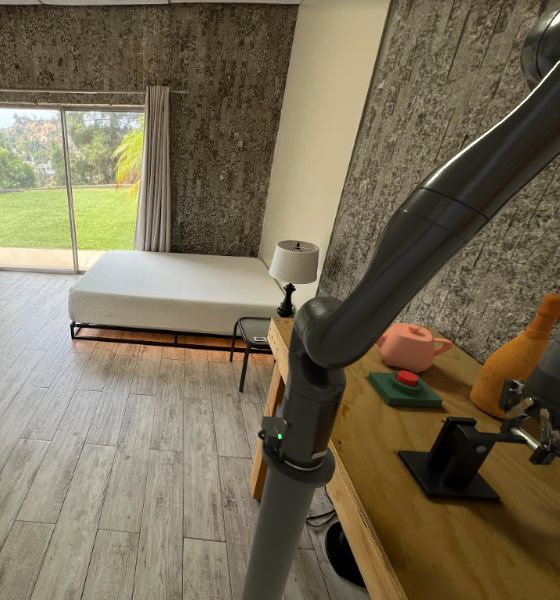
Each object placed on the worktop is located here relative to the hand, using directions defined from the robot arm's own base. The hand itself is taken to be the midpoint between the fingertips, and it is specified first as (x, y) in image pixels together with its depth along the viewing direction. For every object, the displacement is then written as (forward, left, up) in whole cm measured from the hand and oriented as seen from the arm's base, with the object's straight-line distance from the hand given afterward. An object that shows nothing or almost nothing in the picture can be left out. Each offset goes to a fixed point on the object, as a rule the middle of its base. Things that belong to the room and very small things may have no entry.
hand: (521, 448), depth 56 cm
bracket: (-10, 0, -9) cm, 13 cm away
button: (-4, +24, -5) cm, 25 cm away
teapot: (+3, +38, -9) cm, 39 cm away
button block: (-4, +24, -9) cm, 26 cm away
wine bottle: (+15, +20, -9) cm, 27 cm away
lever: (-5, 0, +1) cm, 5 cm away
